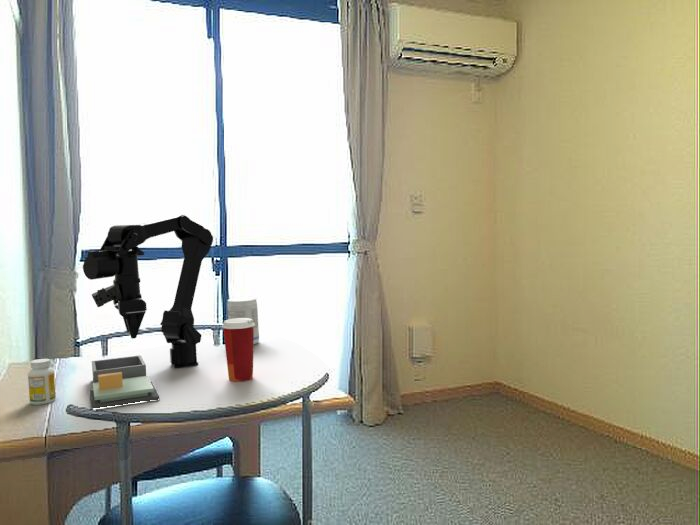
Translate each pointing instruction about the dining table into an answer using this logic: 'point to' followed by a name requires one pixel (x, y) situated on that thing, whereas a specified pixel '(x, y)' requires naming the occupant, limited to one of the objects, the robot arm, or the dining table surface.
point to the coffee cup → (239, 348)
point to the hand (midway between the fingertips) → (131, 335)
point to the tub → (119, 367)
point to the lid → (120, 387)
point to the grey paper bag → (244, 312)
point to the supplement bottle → (41, 382)
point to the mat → (99, 404)
